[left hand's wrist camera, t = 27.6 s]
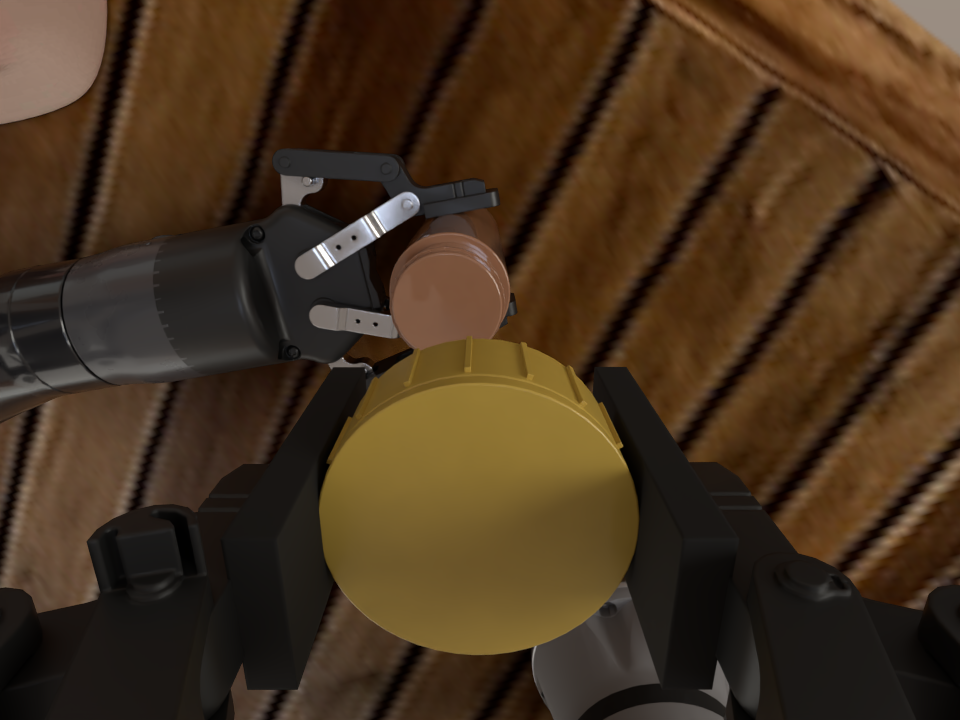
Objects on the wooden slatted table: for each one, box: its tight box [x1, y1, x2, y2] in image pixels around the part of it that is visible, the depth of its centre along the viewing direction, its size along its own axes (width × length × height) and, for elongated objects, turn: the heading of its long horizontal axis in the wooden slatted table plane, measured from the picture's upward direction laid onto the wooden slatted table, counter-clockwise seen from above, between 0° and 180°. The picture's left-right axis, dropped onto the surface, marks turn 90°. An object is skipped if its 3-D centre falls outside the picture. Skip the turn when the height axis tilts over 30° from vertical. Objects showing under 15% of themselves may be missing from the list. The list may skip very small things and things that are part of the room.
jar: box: [389, 208, 510, 351], centre depth 29 cm, size 5×5×16 cm
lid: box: [319, 336, 640, 655], centre depth 11 cm, size 6×6×2 cm
